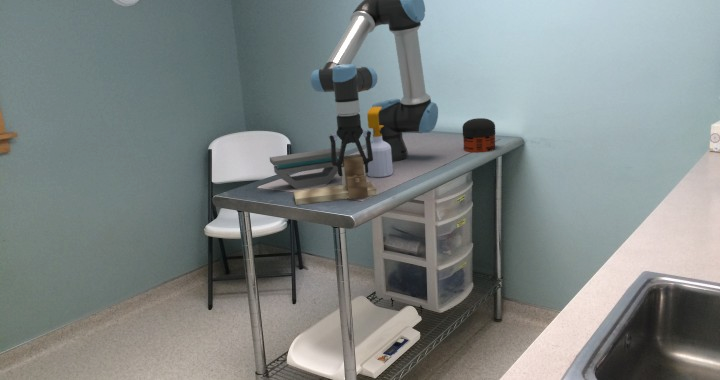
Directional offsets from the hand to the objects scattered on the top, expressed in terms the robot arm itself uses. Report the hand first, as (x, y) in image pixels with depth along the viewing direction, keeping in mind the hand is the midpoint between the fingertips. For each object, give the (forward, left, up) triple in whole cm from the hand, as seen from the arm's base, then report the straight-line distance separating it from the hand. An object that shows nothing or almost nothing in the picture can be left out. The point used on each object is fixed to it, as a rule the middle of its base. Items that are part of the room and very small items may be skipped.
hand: (354, 184), depth 203 cm
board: (+7, 0, -3) cm, 8 cm away
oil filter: (-59, -43, -3) cm, 73 cm away
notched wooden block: (0, +2, -3) cm, 4 cm away
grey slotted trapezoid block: (+13, -20, -3) cm, 24 cm away
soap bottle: (-13, -21, -3) cm, 25 cm away
